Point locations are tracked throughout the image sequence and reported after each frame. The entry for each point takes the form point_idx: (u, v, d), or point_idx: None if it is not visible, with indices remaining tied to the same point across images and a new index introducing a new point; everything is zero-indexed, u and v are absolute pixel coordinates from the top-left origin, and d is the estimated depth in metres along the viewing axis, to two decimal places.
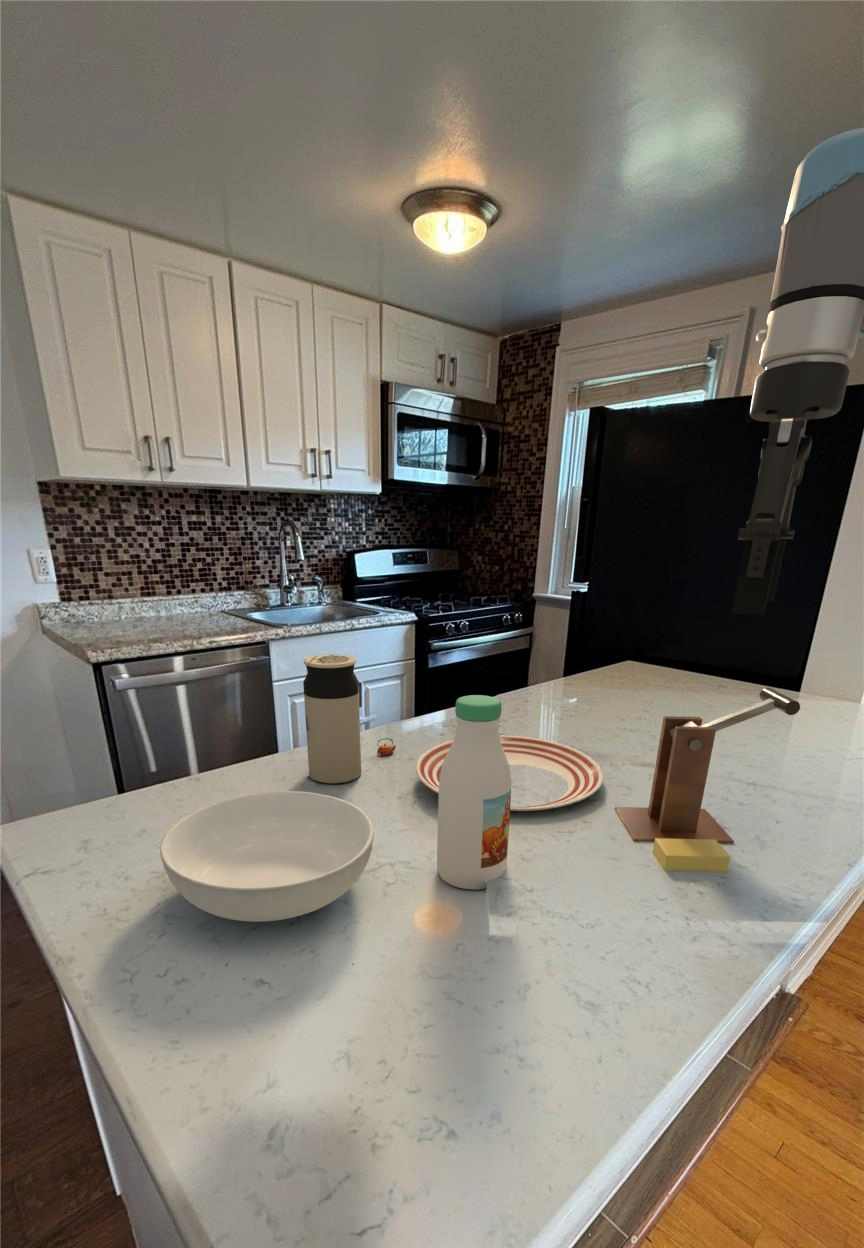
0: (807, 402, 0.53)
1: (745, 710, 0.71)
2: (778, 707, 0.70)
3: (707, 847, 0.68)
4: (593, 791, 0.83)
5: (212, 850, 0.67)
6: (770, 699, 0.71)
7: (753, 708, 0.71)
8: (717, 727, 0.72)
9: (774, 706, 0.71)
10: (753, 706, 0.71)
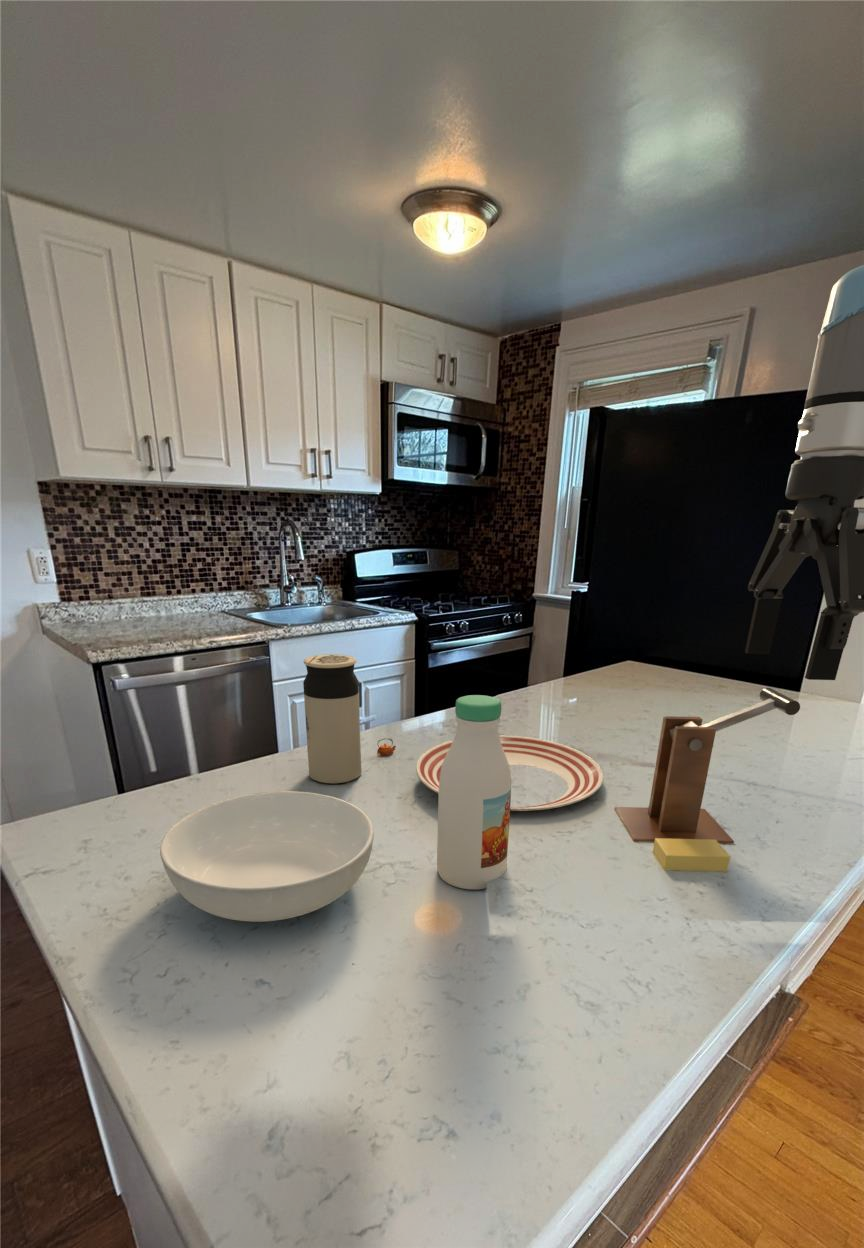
0: (859, 492, 0.59)
1: (745, 710, 0.71)
2: (778, 707, 0.70)
3: (707, 847, 0.68)
4: (593, 791, 0.83)
5: (212, 850, 0.67)
6: (770, 699, 0.71)
7: (753, 708, 0.71)
8: (717, 727, 0.72)
9: (774, 706, 0.71)
10: (753, 706, 0.71)
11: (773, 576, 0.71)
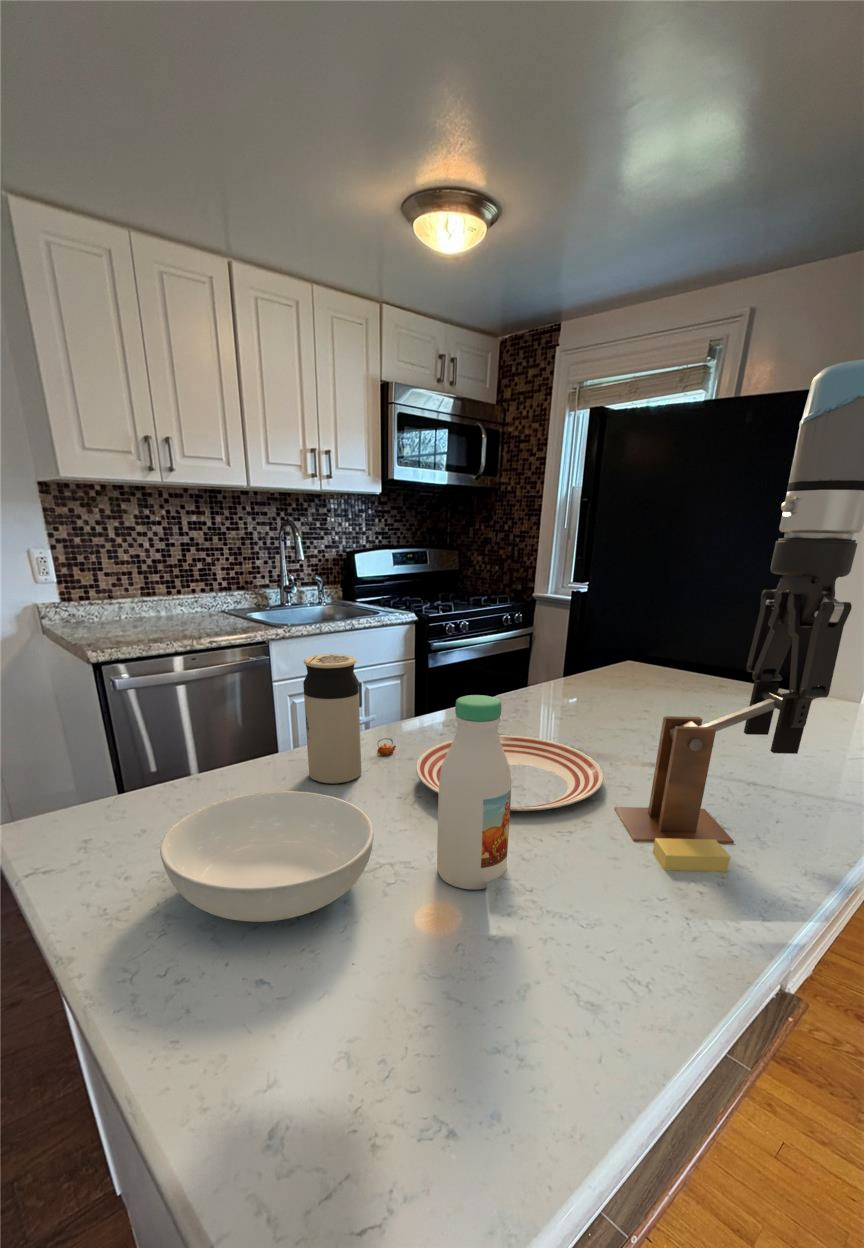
0: (839, 572, 0.62)
1: (745, 710, 0.71)
2: (778, 707, 0.70)
3: (707, 847, 0.68)
4: (593, 791, 0.83)
5: (212, 850, 0.67)
6: (770, 699, 0.71)
7: (753, 708, 0.71)
8: (717, 727, 0.72)
9: (774, 706, 0.71)
10: (753, 706, 0.71)
11: (768, 654, 0.72)
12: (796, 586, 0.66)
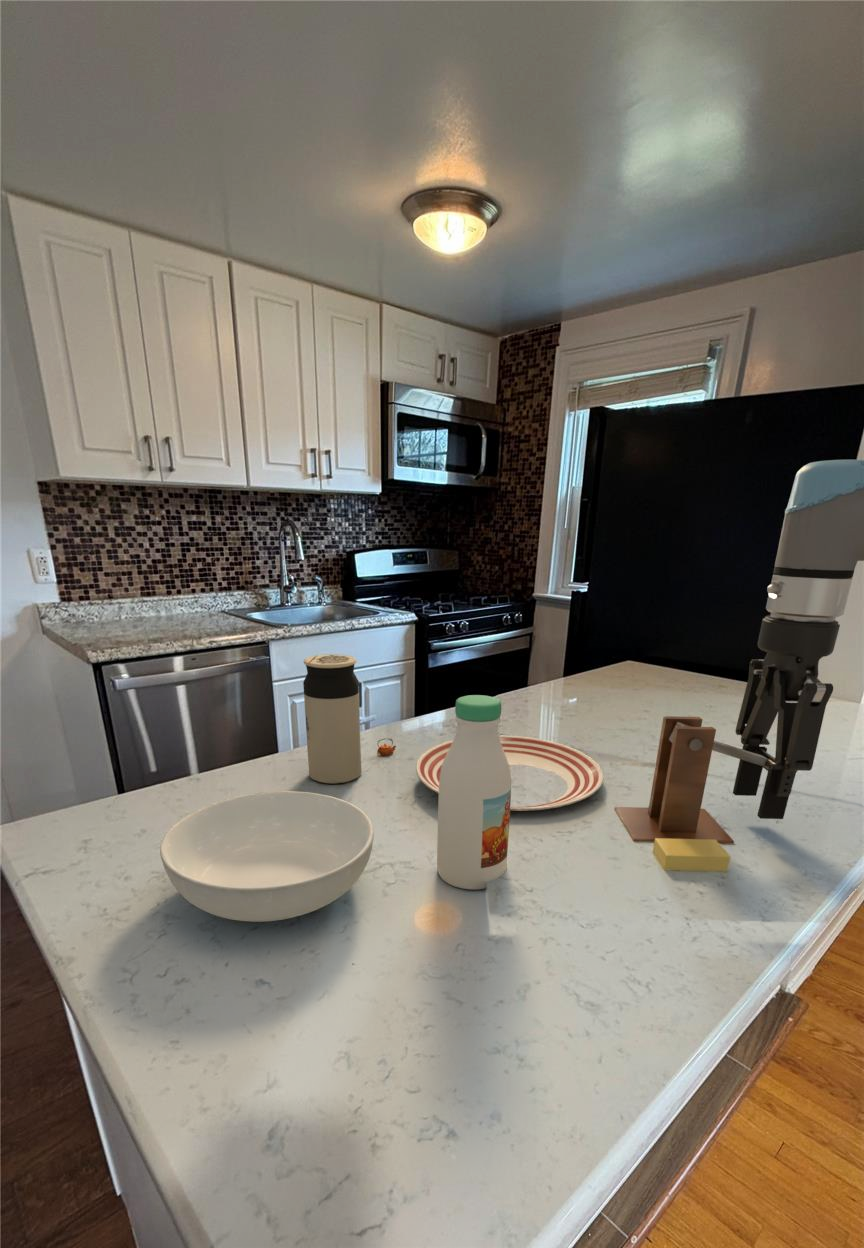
0: (822, 653, 0.65)
1: (742, 750, 0.73)
2: None
3: (707, 847, 0.68)
4: (593, 791, 0.83)
5: (212, 850, 0.67)
6: (764, 756, 0.74)
7: (749, 753, 0.73)
8: (715, 747, 0.73)
9: (764, 763, 0.73)
10: (750, 752, 0.73)
11: (756, 721, 0.75)
12: (782, 662, 0.69)
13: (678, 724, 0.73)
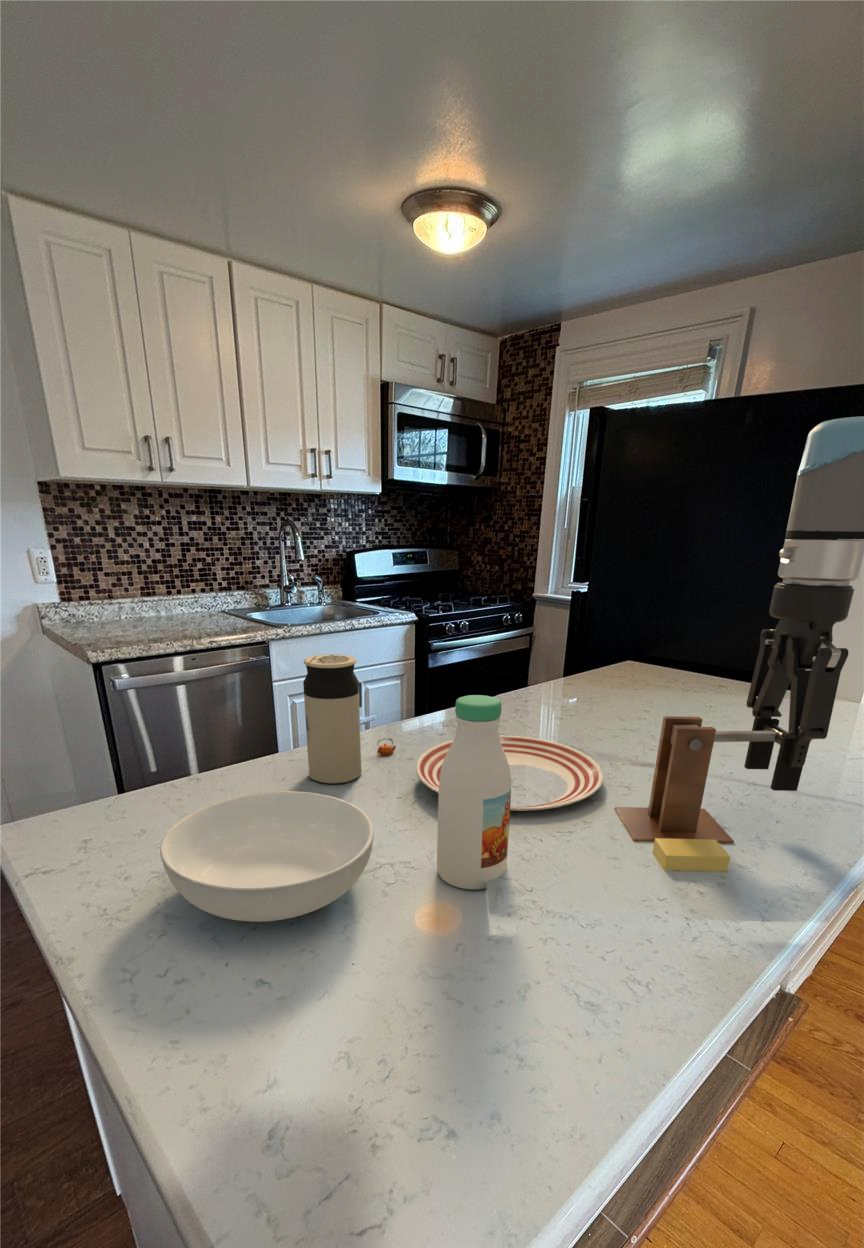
0: (836, 618, 0.64)
1: (747, 732, 0.72)
2: (778, 740, 0.71)
3: (707, 847, 0.68)
4: (593, 791, 0.83)
5: (212, 850, 0.67)
6: (772, 731, 0.73)
7: (755, 733, 0.72)
8: (718, 738, 0.72)
9: (774, 738, 0.72)
10: (756, 731, 0.72)
11: (768, 692, 0.73)
12: (794, 629, 0.68)
13: (674, 727, 0.73)
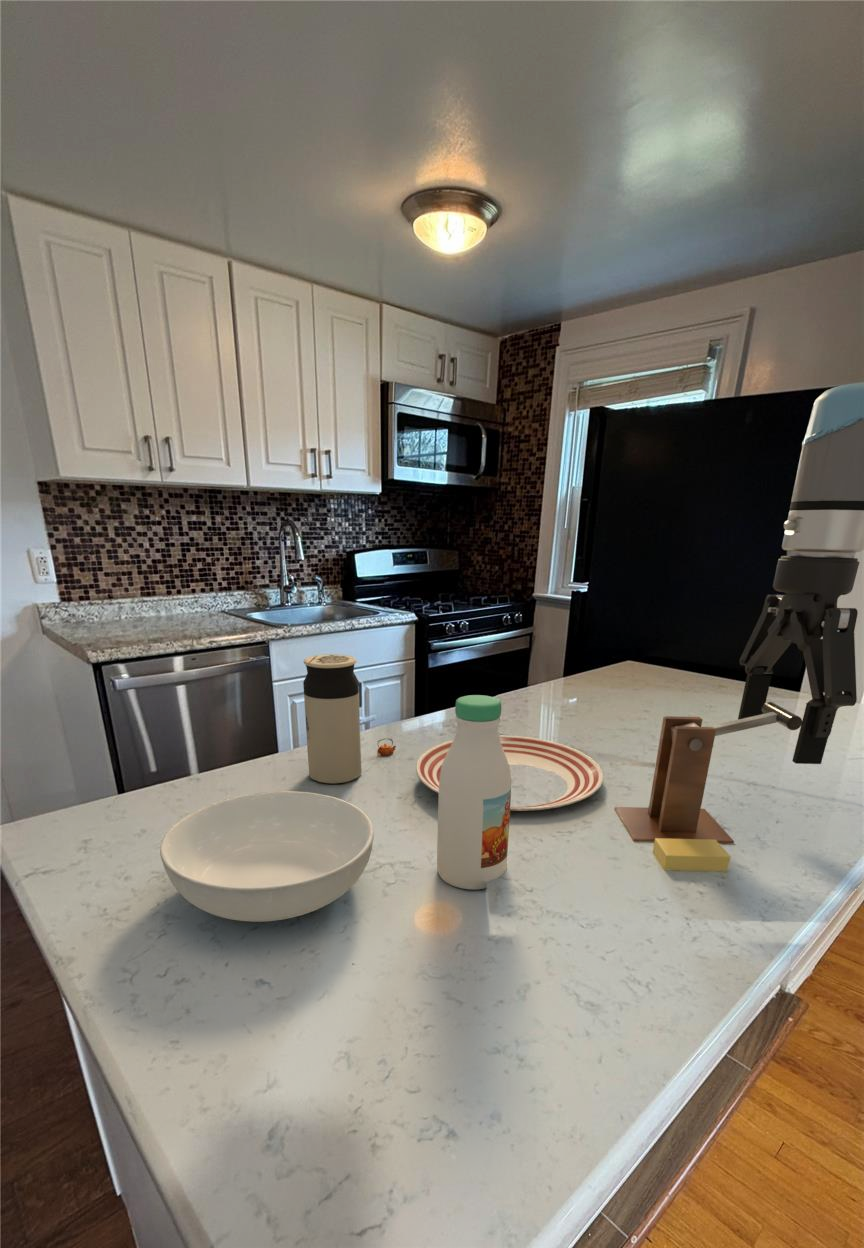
0: (841, 590, 0.63)
1: (747, 719, 0.72)
2: (780, 721, 0.70)
3: (707, 847, 0.68)
4: (593, 791, 0.83)
5: (212, 850, 0.67)
6: (773, 712, 0.72)
7: (755, 718, 0.71)
8: (718, 732, 0.72)
9: (776, 720, 0.71)
10: (755, 717, 0.72)
11: (763, 656, 0.74)
12: (798, 603, 0.67)
13: (672, 730, 0.73)
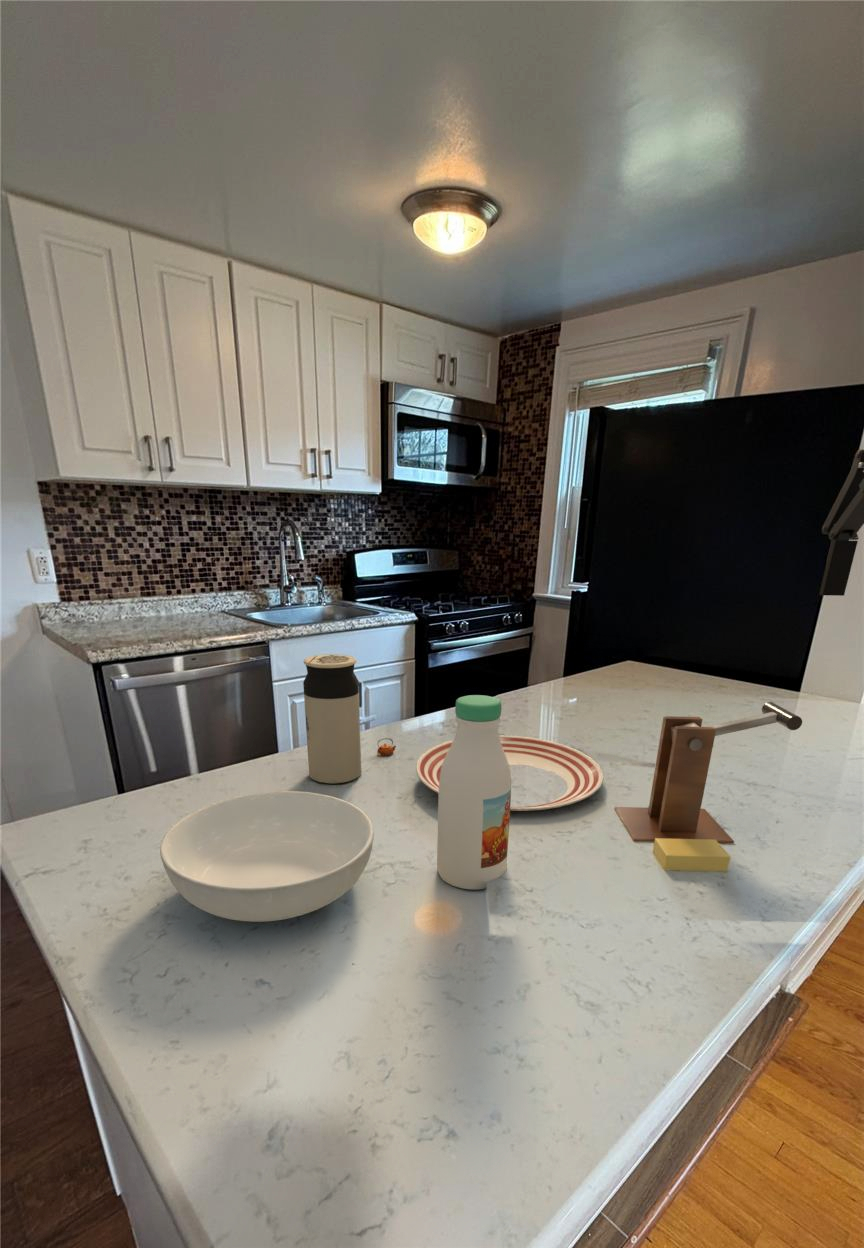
0: None
1: (747, 719, 0.72)
2: (780, 721, 0.70)
3: (707, 847, 0.68)
4: (593, 791, 0.83)
5: (212, 850, 0.67)
6: (773, 712, 0.72)
7: (755, 718, 0.71)
8: (718, 732, 0.72)
9: (776, 720, 0.71)
10: (755, 717, 0.72)
11: (851, 516, 0.72)
12: None
13: (672, 730, 0.73)
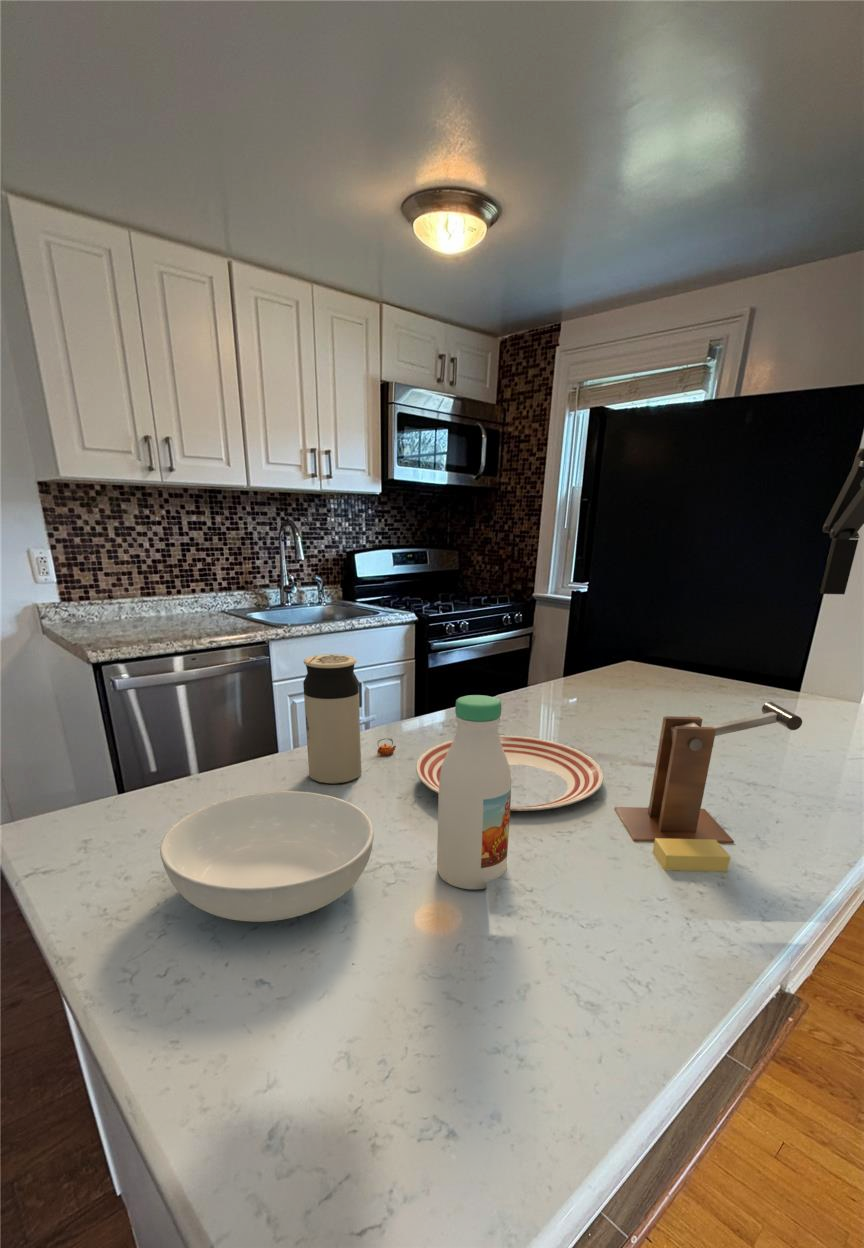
0: None
1: (747, 719, 0.72)
2: (780, 721, 0.70)
3: (707, 847, 0.68)
4: (593, 791, 0.83)
5: (212, 850, 0.67)
6: (773, 712, 0.72)
7: (755, 718, 0.71)
8: (718, 732, 0.72)
9: (776, 720, 0.71)
10: (755, 717, 0.72)
11: (852, 514, 0.72)
12: None
13: (672, 730, 0.73)
